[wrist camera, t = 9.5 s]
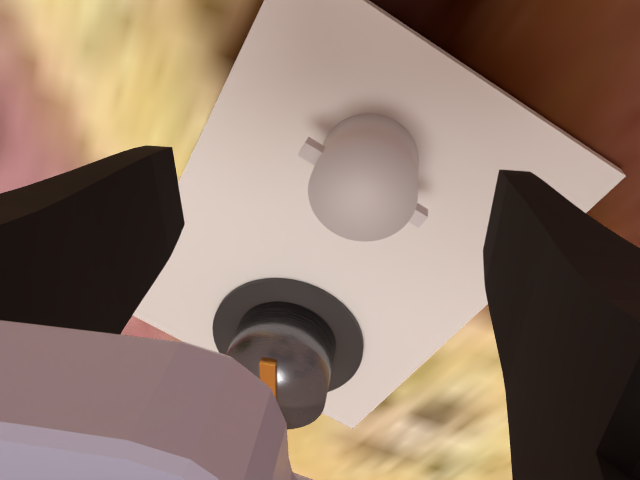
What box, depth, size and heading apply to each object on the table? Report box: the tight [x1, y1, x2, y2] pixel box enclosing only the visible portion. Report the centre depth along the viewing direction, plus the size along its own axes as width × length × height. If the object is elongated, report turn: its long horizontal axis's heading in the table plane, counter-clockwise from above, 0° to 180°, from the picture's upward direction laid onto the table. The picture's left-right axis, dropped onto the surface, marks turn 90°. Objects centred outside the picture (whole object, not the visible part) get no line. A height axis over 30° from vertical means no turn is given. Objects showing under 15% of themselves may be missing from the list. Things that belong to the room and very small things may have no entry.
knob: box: [226, 301, 336, 429], centre depth 26 cm, size 5×5×4 cm
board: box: [133, 0, 626, 429], centre depth 24 cm, size 15×20×4 cm
